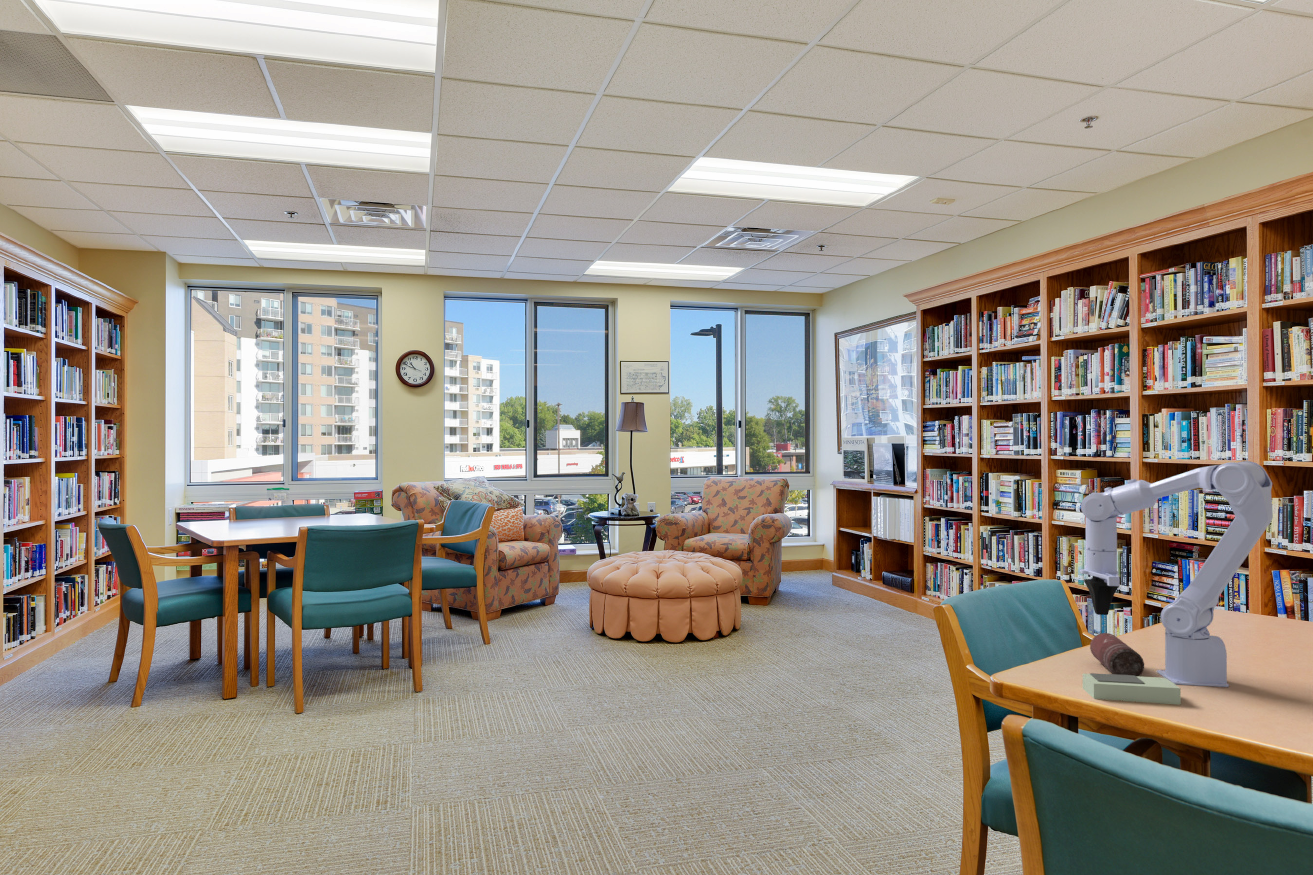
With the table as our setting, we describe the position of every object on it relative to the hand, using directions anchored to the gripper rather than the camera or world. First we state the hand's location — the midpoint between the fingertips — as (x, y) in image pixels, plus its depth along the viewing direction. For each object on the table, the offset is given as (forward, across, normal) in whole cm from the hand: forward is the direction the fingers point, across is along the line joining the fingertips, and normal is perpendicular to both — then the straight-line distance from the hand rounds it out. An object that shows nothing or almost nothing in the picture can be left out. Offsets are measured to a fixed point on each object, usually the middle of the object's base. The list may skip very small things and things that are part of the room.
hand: (1101, 614), depth 164 cm
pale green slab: (+10, +24, -3) cm, 26 cm away
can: (+7, +14, 0) cm, 15 cm away
